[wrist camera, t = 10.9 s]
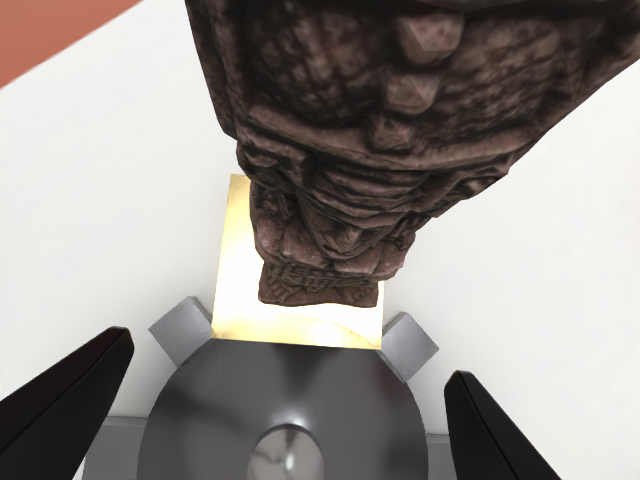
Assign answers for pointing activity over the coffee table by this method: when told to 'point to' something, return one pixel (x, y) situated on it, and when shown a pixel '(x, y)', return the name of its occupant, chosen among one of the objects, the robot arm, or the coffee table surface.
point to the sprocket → (277, 388)
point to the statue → (388, 117)
